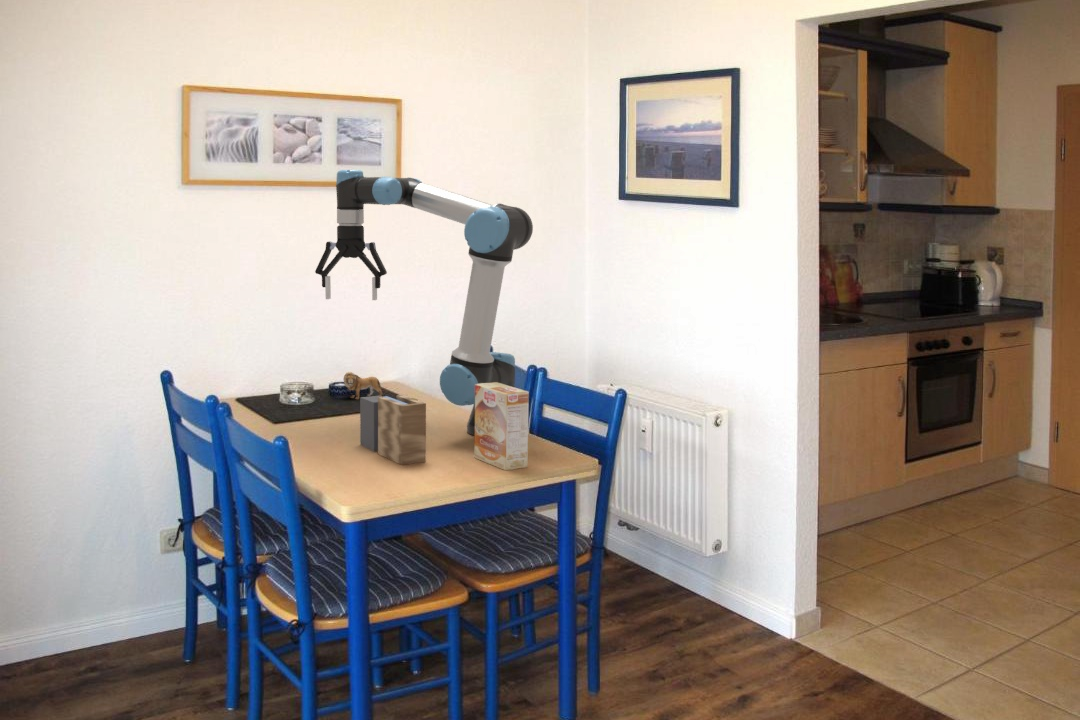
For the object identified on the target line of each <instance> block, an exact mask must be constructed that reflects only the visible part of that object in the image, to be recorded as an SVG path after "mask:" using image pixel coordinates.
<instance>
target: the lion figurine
mask: <svg viewBox="0 0 1080 720" xmlns="http://www.w3.org/2000/svg"><path fill="white" fill-rule="evenodd" d="M343 384H344V386H345V387H346V388H347V389H348V390H349V391H351V390H355V395H352V394H351V396H349V397H350V399H355V400H360V392H361V390H367V389H368V388H369V389H370V390H369V391H370V393H367V395H366V397H369V396H373V393H374V390H375V391H377V392H378V393H379V394H378V395H377V396H381V397H383V394H384V392H383V391H382V386H381V382H380V380H379V378H377V376H368V377H364V378H362V377H361V376H359V375H357V374H355V373H354V372H353V371H352V372H351V371H348V372H346V373H345V375H344V376H343ZM355 396H356V397H355Z"/></svg>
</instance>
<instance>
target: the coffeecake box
mask: <svg viewBox="0 0 1080 720" xmlns="http://www.w3.org/2000/svg"><path fill="white" fill-rule="evenodd" d="M529 398H530V391H528V390H524V389H521V388H518V387H516V386H515V387H511V386H508V385H505V384H501V383H498V382H493V383H480V384H475V435H474V449H473V450H474V451H473V452H474V453H473V455H474V456H473V459H476V460H479V461H481V462H483V463H486V464H488V465H491V466H494V467H496V468H498V469H501V470H503V471H511V470H512V471H513V470H516V469H525V468H528V461H529V460H528V456H529V455H528V454H529V453H528V451H529V448H528V446H529V445H528V444H529V405H530V404H529Z"/></svg>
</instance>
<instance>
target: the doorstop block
mask: <svg viewBox="0 0 1080 720" xmlns="http://www.w3.org/2000/svg"><path fill="white" fill-rule="evenodd" d="M378 397H381V396H378V395H371V396H361V397H360V396H359V406H360V409H359V410H360V411H359V415H360V416H359V418H360V419H359V420H360V421H359V422H360V425H359V426H360V428H359V429H360V430H359V431H360V433H359V435H360V437H359V440H360V441H359V443H360V446H362V447H364V448H365V449H368V450H371V451H373V452H376V451H377V452H378Z"/></svg>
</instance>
